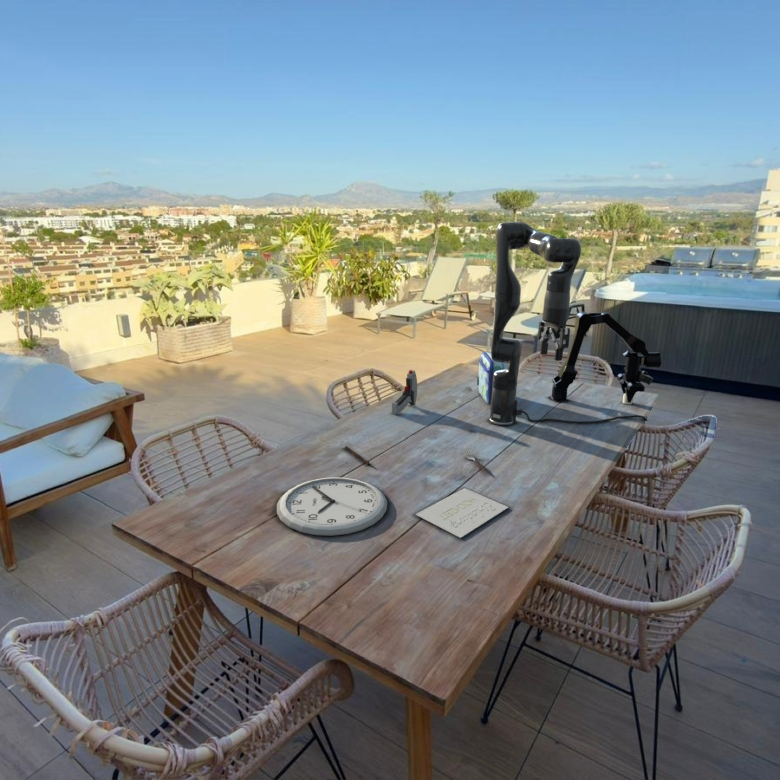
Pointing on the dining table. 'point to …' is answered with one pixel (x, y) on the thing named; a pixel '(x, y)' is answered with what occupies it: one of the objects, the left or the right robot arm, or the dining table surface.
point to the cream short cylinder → (626, 399)
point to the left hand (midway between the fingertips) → (550, 357)
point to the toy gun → (407, 394)
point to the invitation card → (461, 512)
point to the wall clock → (331, 506)
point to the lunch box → (488, 375)
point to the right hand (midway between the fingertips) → (627, 400)
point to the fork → (474, 459)
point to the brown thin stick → (357, 455)
